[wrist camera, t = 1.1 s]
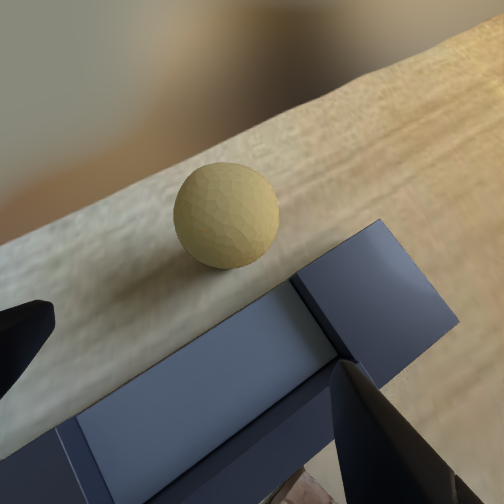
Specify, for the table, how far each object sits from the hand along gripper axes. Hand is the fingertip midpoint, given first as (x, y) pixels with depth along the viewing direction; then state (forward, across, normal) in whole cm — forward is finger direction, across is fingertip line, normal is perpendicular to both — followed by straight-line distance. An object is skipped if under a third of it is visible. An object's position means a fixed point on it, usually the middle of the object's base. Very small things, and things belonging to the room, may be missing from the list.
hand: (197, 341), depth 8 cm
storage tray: (+8, -3, +11) cm, 14 cm away
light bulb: (+15, 0, +4) cm, 15 cm away
